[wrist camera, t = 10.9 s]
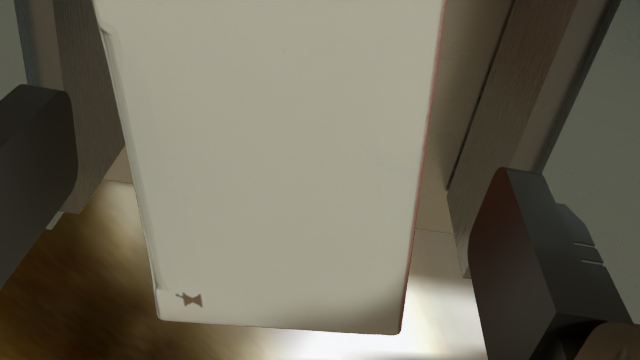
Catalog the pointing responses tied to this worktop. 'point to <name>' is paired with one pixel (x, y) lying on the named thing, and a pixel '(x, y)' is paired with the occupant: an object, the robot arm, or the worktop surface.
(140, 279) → the worktop surface
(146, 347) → the worktop surface
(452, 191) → the sliding jaw
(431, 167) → the vise base
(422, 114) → the small box
